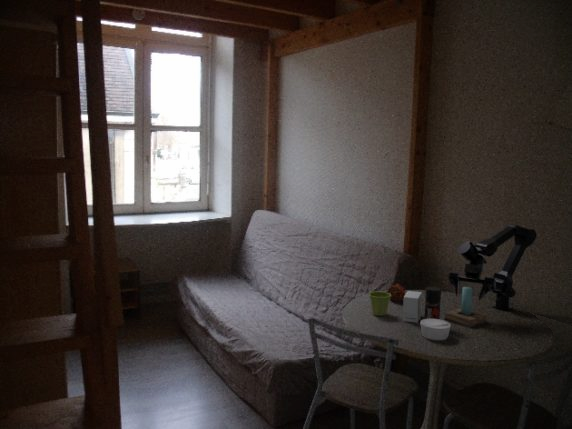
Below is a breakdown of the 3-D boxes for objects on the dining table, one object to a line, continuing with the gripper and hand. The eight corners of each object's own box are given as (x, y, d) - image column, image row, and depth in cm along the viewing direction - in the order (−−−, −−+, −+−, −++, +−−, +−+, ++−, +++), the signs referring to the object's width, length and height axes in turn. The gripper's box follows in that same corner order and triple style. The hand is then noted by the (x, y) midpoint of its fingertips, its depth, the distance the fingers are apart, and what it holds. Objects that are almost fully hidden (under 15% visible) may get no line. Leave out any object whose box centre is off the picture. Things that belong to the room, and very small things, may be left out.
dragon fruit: (398, 307, 240) (390, 303, 251) (412, 296, 240) (404, 293, 252) (387, 292, 239) (380, 289, 251) (402, 281, 240) (394, 279, 252)
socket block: (461, 314, 226) (461, 307, 226) (486, 322, 217) (487, 315, 216) (444, 319, 219) (444, 312, 218) (469, 327, 209) (470, 320, 209)
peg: (464, 316, 220) (466, 286, 219) (472, 318, 217) (474, 288, 216) (458, 318, 218) (460, 287, 216) (467, 320, 215) (469, 289, 213)
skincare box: (406, 313, 226) (407, 290, 225) (421, 315, 223) (422, 292, 222) (401, 321, 216) (403, 296, 215) (417, 323, 214) (419, 298, 212)
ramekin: (445, 344, 191) (446, 330, 190) (415, 337, 197) (416, 324, 196) (453, 335, 201) (454, 322, 200) (424, 329, 206) (425, 316, 206)
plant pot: (365, 315, 222) (366, 295, 221) (370, 309, 231) (371, 290, 230) (387, 318, 219) (388, 298, 218) (392, 312, 228) (393, 292, 227)
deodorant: (439, 323, 214) (441, 287, 212) (438, 328, 208) (440, 291, 206) (424, 321, 216) (426, 286, 214) (423, 326, 210) (425, 289, 208)
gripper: (450, 253, 224) (442, 284, 217) (496, 258, 215) (489, 291, 207) (454, 268, 232) (446, 298, 224) (499, 273, 222) (492, 305, 214)
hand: (467, 297), depth 217 cm, fingers open, 9 cm apart
